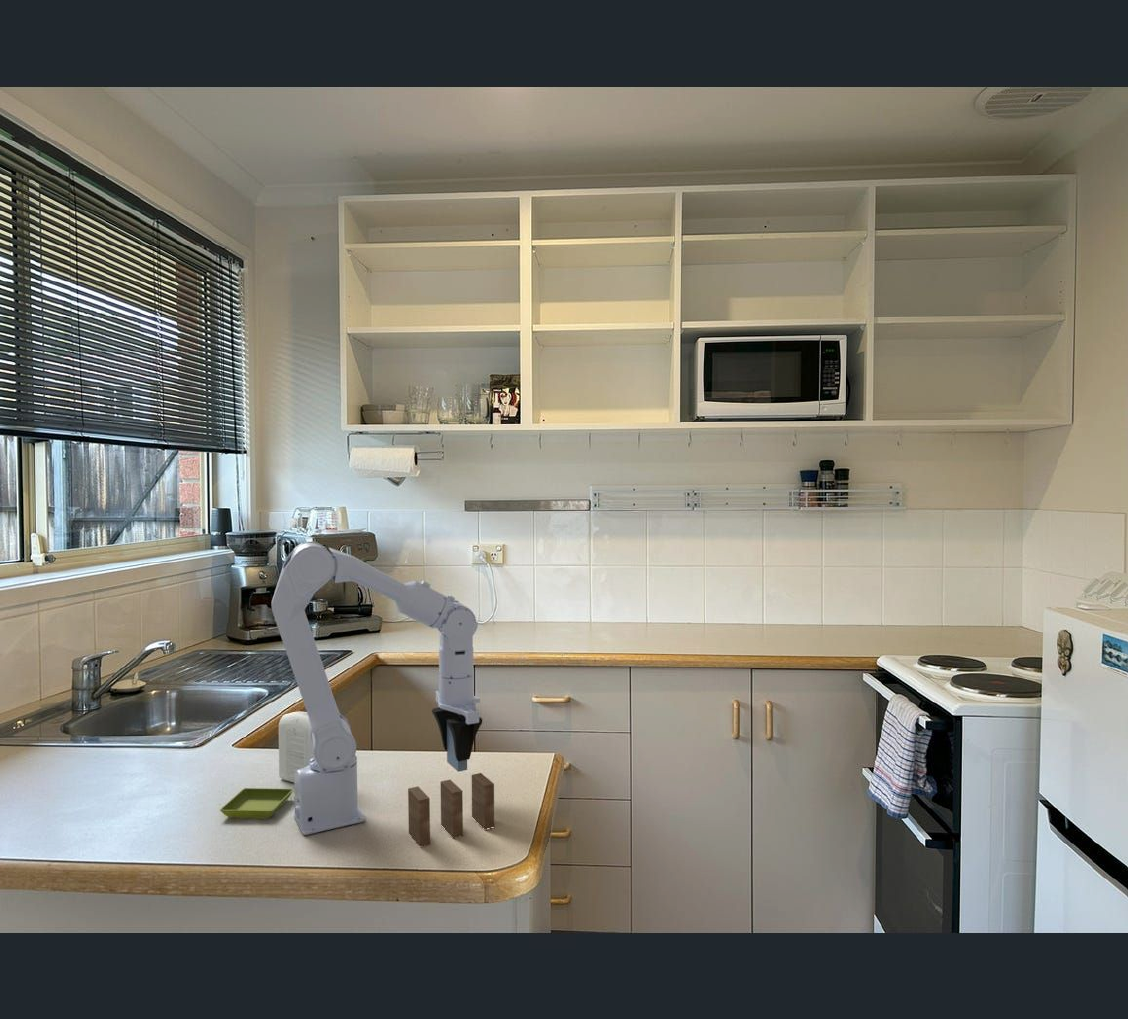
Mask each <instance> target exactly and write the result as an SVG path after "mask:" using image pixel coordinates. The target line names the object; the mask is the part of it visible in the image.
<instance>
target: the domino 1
mask: <svg viewBox="0 0 1128 1019" xmlns="http://www.w3.org/2000/svg"><path fill="white" fill-rule="evenodd" d="M407 789H408V790H407V792H408V793H407V799H408V800H407V801H408V803H407V804H408V809H407V810H408V834H410V835H411V836H412V837H411V836H410V835H409V836H410V837H411V839H412V840H413V839H414V840H415V841H416V842H415V841H414V840H413V841H414V842H415V844H416V845H417V844H418V845H419V846H423V847H425V846H424V845H427V846H430V845H431V822H430V821H431V818H430V817H431V816H430V814H431V812H430V810H431V808H430V805H431V804H430V800H431V799H430V797H429V796H428V794H426V793H425V792H424V790H422V789H421V788H420V787H419V786H418V785H417V786H414V787H409V788H407ZM429 844H430V845H429ZM418 845H417V846H418ZM419 846H418V847H419Z"/></svg>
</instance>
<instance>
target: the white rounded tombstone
mask: <svg viewBox="0 0 1128 1019" xmlns="http://www.w3.org/2000/svg"><path fill="white" fill-rule="evenodd" d="M311 730H312V727H311V724H310V720H309V717H308V714H307V711H293V712H290V713H286V714H283V715H282V717H280V720H279V723H278V774H279V778H281V780H284V781H288V782H291V783H294V775H295V771H296V770H298V769H302V768H305V767H307V766H308V765H309V763H310V759H312V757H313V755H314V747H313V743H312V740H311Z"/></svg>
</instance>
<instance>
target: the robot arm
mask: <svg viewBox="0 0 1128 1019" xmlns="http://www.w3.org/2000/svg"><path fill="white" fill-rule="evenodd" d="M328 549H329V550H330V552H331V553H330V552H329V550H328ZM328 549H327V548H326V547H325V546H324V545H323V544H321V543H319V542H316V541H305V542H302V543H299V544H298V545H297V546H296V547H294V548H293V550H292V551H291V552H290V554H289V555H288V556H287V558H285V560H284V561H283V564H282V568H281V572H280V574H279V578H278V581H277V584H276V587H275V590H274V594H273V596H272V600H271V611H272V615H273V617H274V621H275V622H276V626H277V628H278V631H279V635H280V637H281V641H282V643H283V646H284V649H285V653H286V655H287V658H288V661H289V664H290V667H291V669H292V673H293V675H294V679H295V682H296V684H297V687H298V691H299V693H300V696H301V699H302V702H303V704H304V707H305V710H306V711H305V712H307V714H308V717H309V720H310V724H311V727H312V730H311V740H312V743H313V747H314V755H313V757H312V759H310V763H309V765H308V766H307V767H305V768H302V769H298V770H296V771H295V775H294V782H293V786H294V788H293V792H294V793H293V794H294V814H293V817H294V818H295V821H296V823H297V825H298V827H299V829H300V831H301V833H302V834H303V835H304V836H306V835H311V834H316V833H319V832H324V831H329V830H334V829H337V828H342V827H346V826H350V825H355V824H358V823H359V824H360V823H363V822H366V817H365V815H364V814H363V813H362V811H361V810H360V808H359V807H358V763H357V762H358V756H356V752H357V742H356V740H355V738H354V736H353V734H352V728H351V723H349V720H348V719H347V718H346V717H344V716H343V715H342V714H341V711H339V708H338V705H337V703H336V700H335V697H334V694H333V692H332V688H331V685H330V682H329V678H328V676H327V673H326V670H325V667H324V664H323V662H322V658H321V656H320V652H319V650H318V647H317V643H316V641H315V638H314V635H313V631H312V628H311V626H310V622H309V620H308V617H307V614H306V613H307V612H306V608H307V607H308V605H309V604H310V602H311V600H312V598H313V596H314V595H315V593H316V592H318V590H320V589H321V588H323V586H324V585H326V583H328V582H329V581H330V580H332V581H333V582H334V584H338V583H339V584H341V583H347V582H354V583H356V584H357V585H360V586H361V587H365V588H366V589H369V590H371V591H373V592H376V593H377V594H379V595H382V596H384V597H385V598H388V599H391V600H393V601H394V602H395V605H396V609H397V611H398V613H400V614H402V615H404V616H407V617H408V618H411V619H412V620H414V621H415V622H419V623H421V624H423V625H425V626H426V627H429V628H431V629H437V630H438V631H439V648H438V680H439V681H438V686H439V690H435V702H436V703H437V705H438V707H434V708H432V709H431V713H432V715H433V716H434V718H435V721H436V723H437V726H438V729H439V733H440V736H441V737H440V738H441V741H442V745H443V749H444V751H445V752H447V724H448V725H449V728H450V730H451V733H452V736H453V741H454V749H455V756H456V759H457V761H463V760H467V761H468V760H470V758H471V754H472V750H473V746H474V742H475V739H476V735H477V733H478V731H479V730H480V727H481V725H482V724H483V718H482V717H481V716H480V711H479V709H477V704H479V703H480V702H481V699H480V697H478V696H477V695H474V694H475V693H474V690H475V689H474V687H475V686H474V646H473V644H474V643H473V642H474V640H473V639H474V638H473V637H474V635H475V633H476V631H477V629H478V626H479V622H478V621H477V618H476V616H475V613H474V612H473V611H472V609H471V608H469V607H468V606H466V605H464V604H463V603H461V602H459V600H456V598H455V596H453V595H450V594H448V596H446V595H444V594H443V593H441V592H440V591H437V590H435V589H433V588H431V584H430V583H429V582H427V581H425V580H422V581H421V582H420V581H417V580H412V581H409V582H405V583H403V582H401V581H399V580H397V579H396V578H394V577H392V576H390V575H388V574H387V573H386V572H383V571H381V570H380V569H377V568H375V566H372V565H370V564H368V563H366V562H365V561H362V560H361V559H359V558H357V557H355V556H354V555H352V554H348V553H345V552H342V551H340V550H337V549H335V548H332V547H328Z"/></svg>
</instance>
